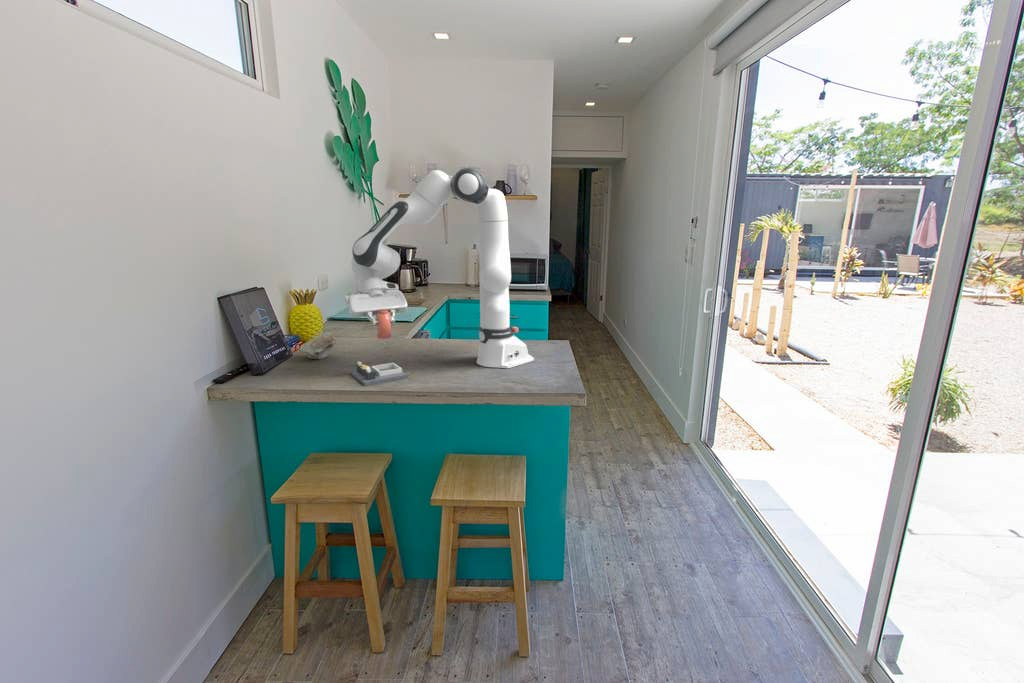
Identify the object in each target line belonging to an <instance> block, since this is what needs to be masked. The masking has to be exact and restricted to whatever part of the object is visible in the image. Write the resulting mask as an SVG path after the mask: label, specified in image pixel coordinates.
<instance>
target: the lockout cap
mask: <svg viewBox="0 0 1024 683" xmlns="http://www.w3.org/2000/svg"><path fill="white" fill-rule="evenodd" d="M375 316H376V319H377V321H378V325H376V331H377V338H378V339H390V338H392V325H391V324H392V323H391V321H390V317H391V316H390V312H388V311H387V310H381V311H378V312H377V313H376V315H375Z"/></svg>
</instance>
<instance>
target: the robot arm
mask: <svg viewBox="0 0 1024 683" xmlns="http://www.w3.org/2000/svg"><path fill="white" fill-rule="evenodd" d="M452 198H453V199H455V200H458V201H460V202H463V203H472V204H473V205H474V207H475V210H476V223H477V243H478V244H477V245H478V257H479V272H478V276H479V281H478V282H479V305H480V306H479V312H480V313H479V314H480V315H479V316H480V318H479V321H480V325H479V327H478V330H479V331H478V332H479V333H478V336H479V349H478V354H477V359H476V364H477V365H479V366H481V367H485V368H499V369H500V368H502V369H510V368H515V367H517V366H521V365H524V364H527V363H532V362H533V361H534V357H533V355H531V354H529V352H528V350H529V349H528V346H527V344H526V343H525V342H524V341H522V340H521V339H519V338H518V337H517V336H516V335H514V333H516V334H517V333H518V332H519V328H518V327H516V326H511V325H510V320H511V319H510V317H511V314H510V313H511V311H510V306H511V305H510V287H509V286H510V284H511V283H512V267H511V266H512V265H511V254H510V243H509V239H510V238H509V221H508V220H509V218H508V216H509V214H508V209H507V208H508V207H507V202H506V197H505V195H504V193H503V191H501V190H499V189H497V188H490V187H488V184H487V183H486V181H485V180H484V178H483V176H482V175H481V173H480V172H478V171H477V170H476V169H474V168H469V167H466V168H465V167H464V168H461V169H460V170H458V171H457V172H456V173H455V174H454V175H448V174H447V173H445V172H444V171H442V170H440V169H439V170H438V169H433V170H431V171H430V172H428V174H427V175H425V176H424V177H423V179H422V180H421V181H419V183H418V185H417V186H416V187H415V188H414V190H413V191H412V192H411V193H410V195H408V196H407V197H406V198H404V199H403V200H401V201H400V200H399V201H397V202H395V203H394V204H393V205H392V206H391V207H389V208H388V209H387V211H386V212H385V213H384V214H383V215H382V216H381V217H380V218H379V219H378V220H377V221H376V222H375V224H374V225H372V226H371V228H370V229H369V230H368V231H366V233H364V234H363V235H361V237H359V238H358V239H357V240H355V242H354V244H353V246H352V252H351V253H352V258H351V263H350V264H351V270H352V274H353V277H354V279H355V281H356V282H357V288H358V291H359V292H349V293H348V294H346V295H345V296H344V300H345V303H346V304H347V305H348V306H347V308H348V313H349V316H350V317H352V318H353V319H355V318H363V317H366V318H367V320H369V321H370V322H371V323H372V326H377V325H378V321H377V318H375V316H376V313H377V312H378V311H381V310H387V311H388V312H390V321H391V324H395V323H396V318H395V315H396V314H401V313H405V312H406V311H407V309H408V306H409V305H408V302H407V300H406V296H405V295H404V293H403V292H402V291H401V290H399V289H400V288H399V285H398V283H394V282H389V281H385V280H384V279H386V278H389V277H390V276H392V275H393V274H395V273H396V272H398V270H399V269H400V267H401V263H402V261H401V255H400V253H398V251H397V250H395V249H393V248H392V247H389V246H387V245H386V244H384V243H383V242H384V241H385V240H386V239H387V238H388V237H389V236H390V235H391V233H392V232H394V231H395V229H396V228H397V227H399V226H401V225H404V224H413V225H425V224H428V223H430V222H432V221H433V220H434V219H435V218H436V217H437V215H438V214H439V212H440V211H441V210H442V209H443V206H445V204H446V203H447V202H448V201H449V200H450V199H452Z"/></svg>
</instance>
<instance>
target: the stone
mask: <svg viewBox="0 0 1024 683" xmlns="http://www.w3.org/2000/svg"><path fill="white" fill-rule="evenodd" d="M337 342H338V340H337V338H336V337H335V335H334V334H333V333H332V332H330V331H325V332H318V334H317V335H315V336H314V337H312V338H311V339H309V340H308V341H306V342H304V343H302V344H301V345H300V347H299V349H300V351H301V352H303V353H305V354H306V356H307V358H309V359H310V360H311V359H313V360H322V358H323V359H325V358H326V357H327V356H329V355H330V354H331V352H332V349H333V347H334V346H335V344H337ZM324 357H325V358H324Z"/></svg>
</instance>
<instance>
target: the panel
mask: <svg viewBox="0 0 1024 683" xmlns="http://www.w3.org/2000/svg"><path fill="white" fill-rule="evenodd" d="M355 366H356V369H353V370H350V375H351V374H352V375H353V376H352V375H351V376H352V377H354V378H355V379H356V380H357V381H358V382H360V383H361V384H362V385H363V386H364V387H368V386H371V385H377V384H382V383H388V382H393V381H399V380H403V379H408V374H407V373H406V372H404V371H403V367H401V366H399V365H397V364H396V363H395V362H389V363H382V364H376V365H371V367H370V366H369V365H366V364H365V363H363V362H361V361H357V364H356V365H355Z"/></svg>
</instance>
